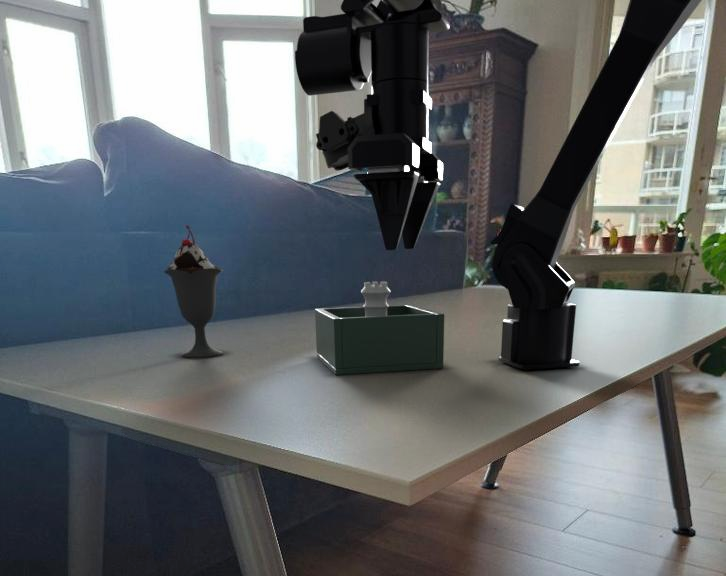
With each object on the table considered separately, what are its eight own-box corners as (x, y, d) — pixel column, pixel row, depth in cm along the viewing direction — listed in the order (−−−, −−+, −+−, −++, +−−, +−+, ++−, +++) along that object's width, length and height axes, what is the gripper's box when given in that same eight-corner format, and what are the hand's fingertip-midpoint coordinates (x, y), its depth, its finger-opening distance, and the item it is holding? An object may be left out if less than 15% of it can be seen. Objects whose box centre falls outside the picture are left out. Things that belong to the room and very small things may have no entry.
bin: (411, 352, 81) (411, 304, 79) (443, 368, 70) (444, 313, 68) (316, 357, 78) (314, 308, 77) (335, 375, 68) (333, 318, 66)
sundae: (206, 348, 87) (194, 225, 82) (240, 353, 83) (229, 223, 78) (163, 355, 82) (147, 225, 77) (197, 360, 78) (182, 223, 73)
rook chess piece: (395, 360, 72) (394, 283, 69) (353, 360, 72) (352, 283, 70) (398, 353, 76) (398, 280, 73) (359, 353, 77) (357, 281, 74)
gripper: (349, 108, 78) (353, 250, 83) (291, 71, 61) (301, 252, 66) (444, 100, 75) (442, 247, 80) (411, 59, 58) (411, 250, 63)
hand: (400, 249), depth 72 cm, fingers open, 9 cm apart
